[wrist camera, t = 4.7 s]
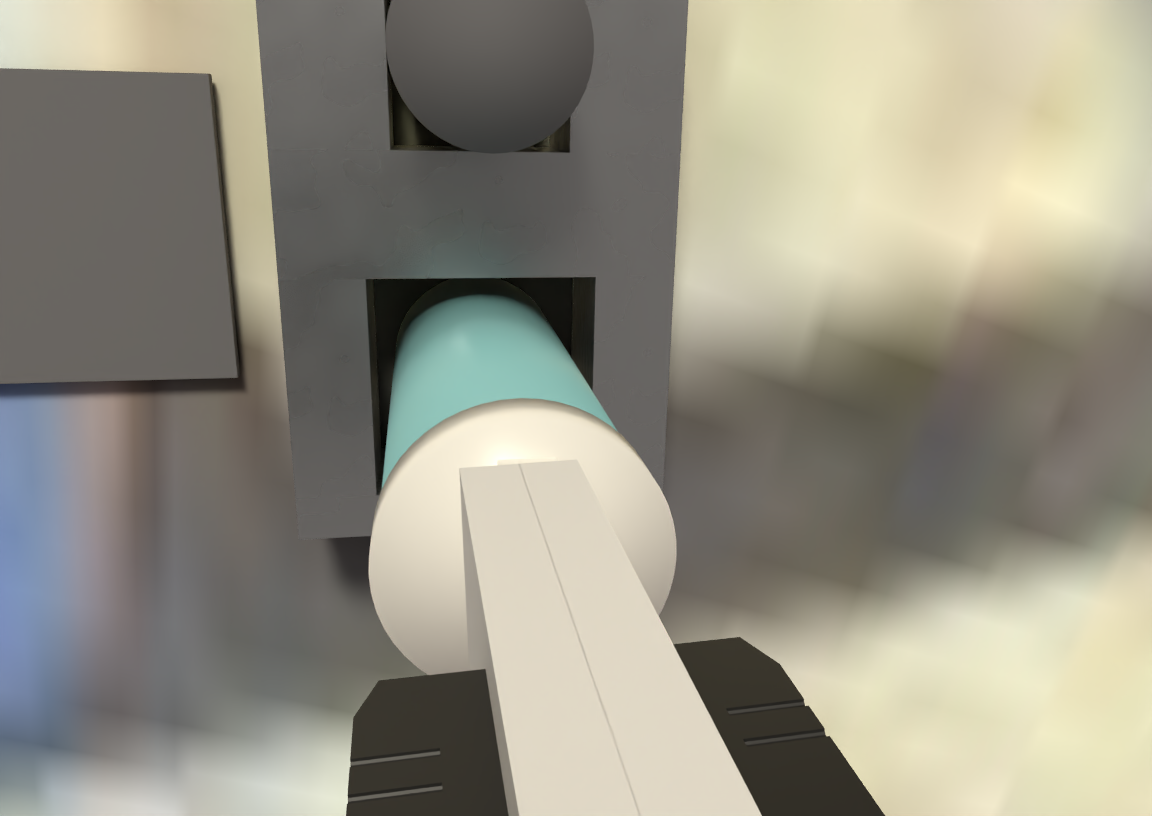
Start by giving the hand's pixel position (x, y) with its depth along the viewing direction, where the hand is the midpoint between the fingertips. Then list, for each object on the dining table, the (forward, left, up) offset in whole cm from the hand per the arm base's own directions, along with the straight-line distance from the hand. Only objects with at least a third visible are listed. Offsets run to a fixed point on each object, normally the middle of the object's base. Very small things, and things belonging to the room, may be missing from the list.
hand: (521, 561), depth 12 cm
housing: (0, +2, -19) cm, 19 cm away
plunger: (+1, +7, -18) cm, 20 cm away
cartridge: (0, -2, -19) cm, 19 cm away
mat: (-12, +2, -19) cm, 22 cm away
